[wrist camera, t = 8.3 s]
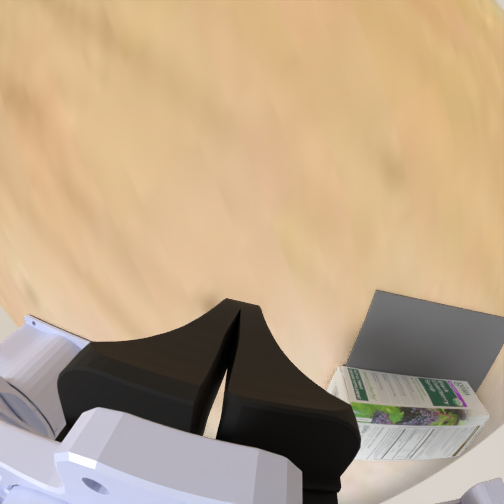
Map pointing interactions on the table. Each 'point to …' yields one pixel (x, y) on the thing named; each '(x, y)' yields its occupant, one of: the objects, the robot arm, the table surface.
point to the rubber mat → (427, 340)
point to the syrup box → (409, 414)
